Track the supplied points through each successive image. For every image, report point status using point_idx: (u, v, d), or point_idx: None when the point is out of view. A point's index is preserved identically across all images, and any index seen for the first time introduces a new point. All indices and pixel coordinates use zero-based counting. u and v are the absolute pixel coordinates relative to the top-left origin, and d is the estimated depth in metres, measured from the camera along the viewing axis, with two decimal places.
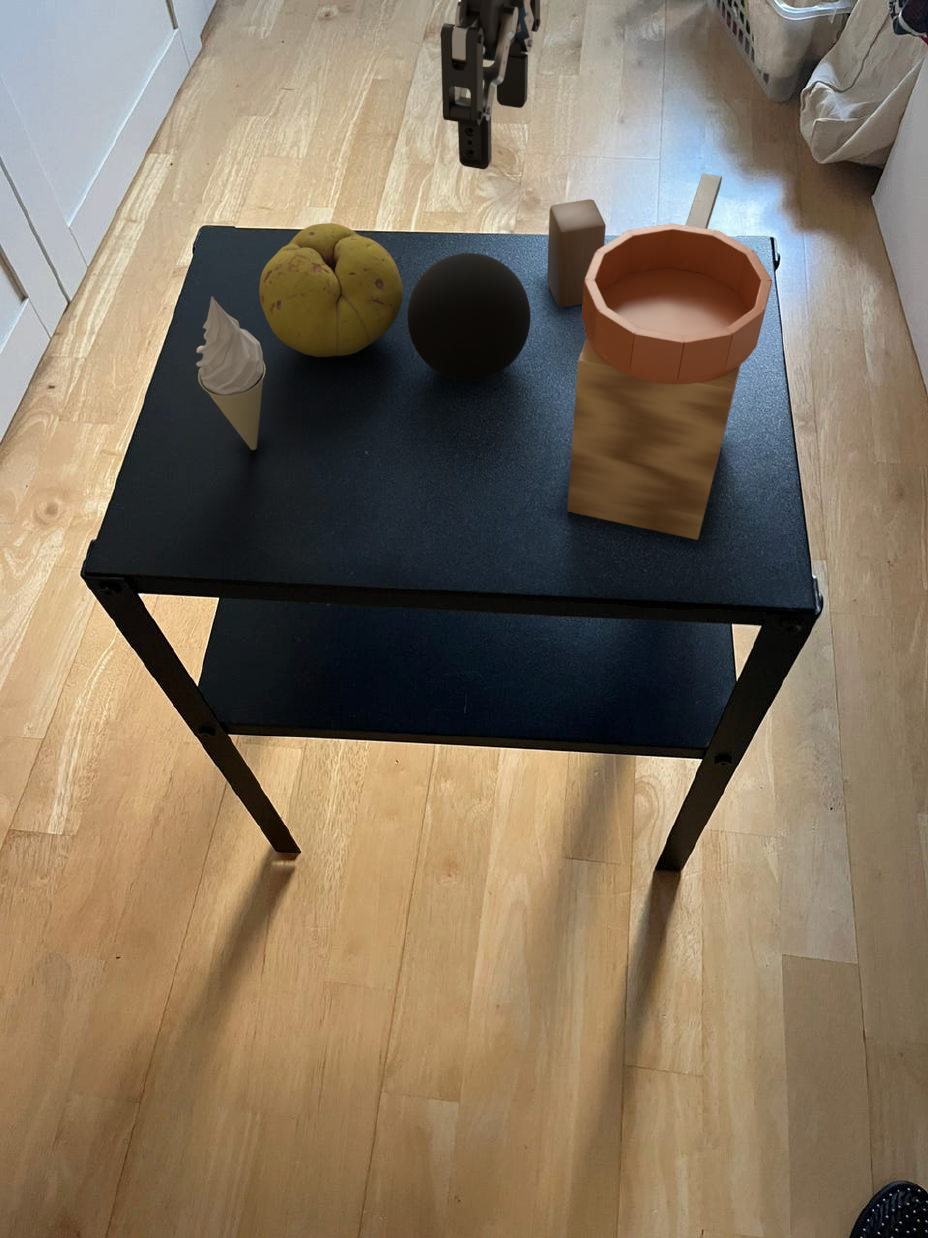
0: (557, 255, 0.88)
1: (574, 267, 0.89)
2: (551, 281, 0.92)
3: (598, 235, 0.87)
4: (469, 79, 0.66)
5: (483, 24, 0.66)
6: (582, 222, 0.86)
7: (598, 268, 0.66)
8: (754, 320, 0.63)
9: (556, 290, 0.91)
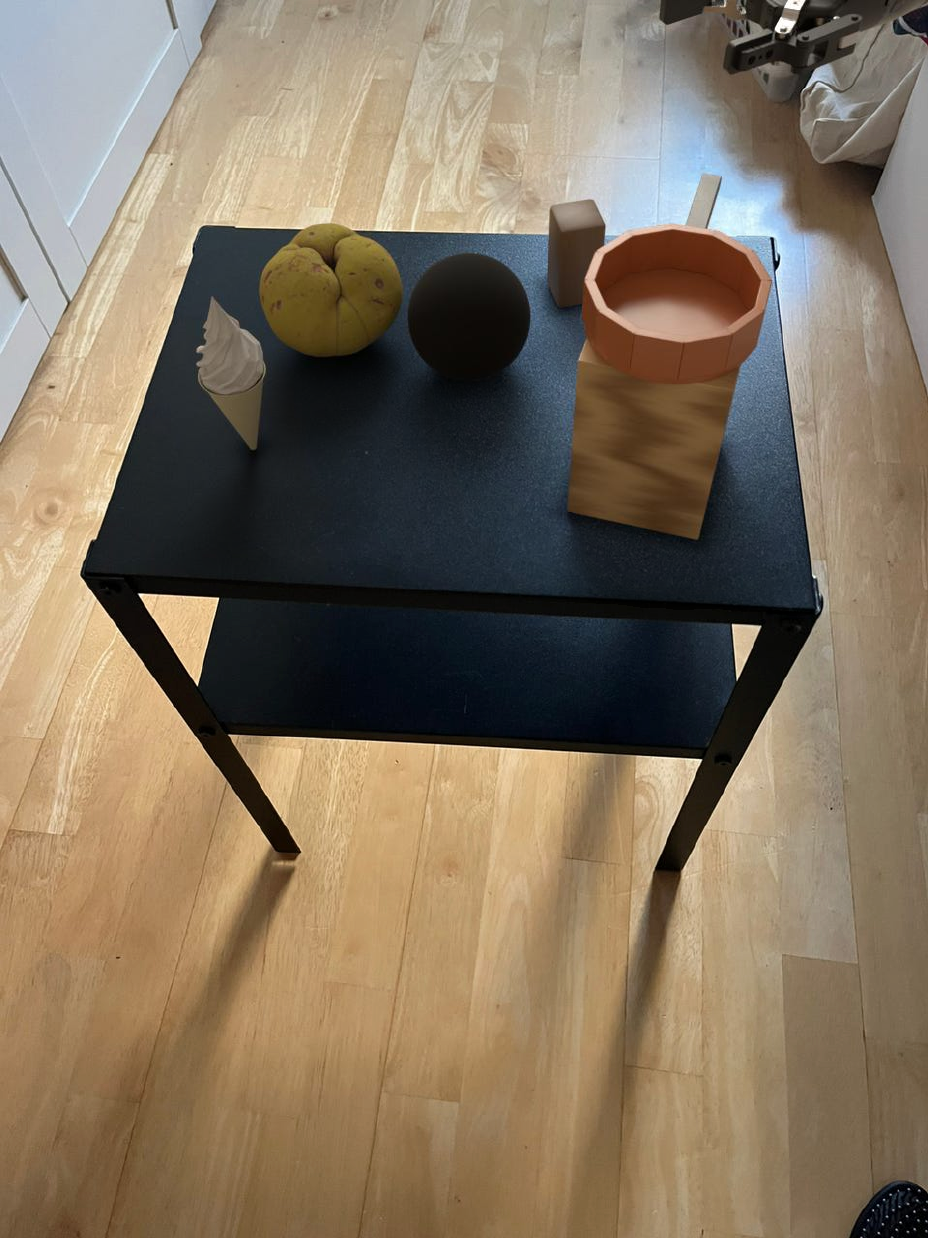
0: (557, 255, 0.88)
1: (574, 267, 0.89)
2: (551, 281, 0.92)
3: (598, 235, 0.87)
4: None
5: None
6: (582, 222, 0.86)
7: (598, 268, 0.66)
8: (754, 320, 0.63)
9: (556, 290, 0.91)
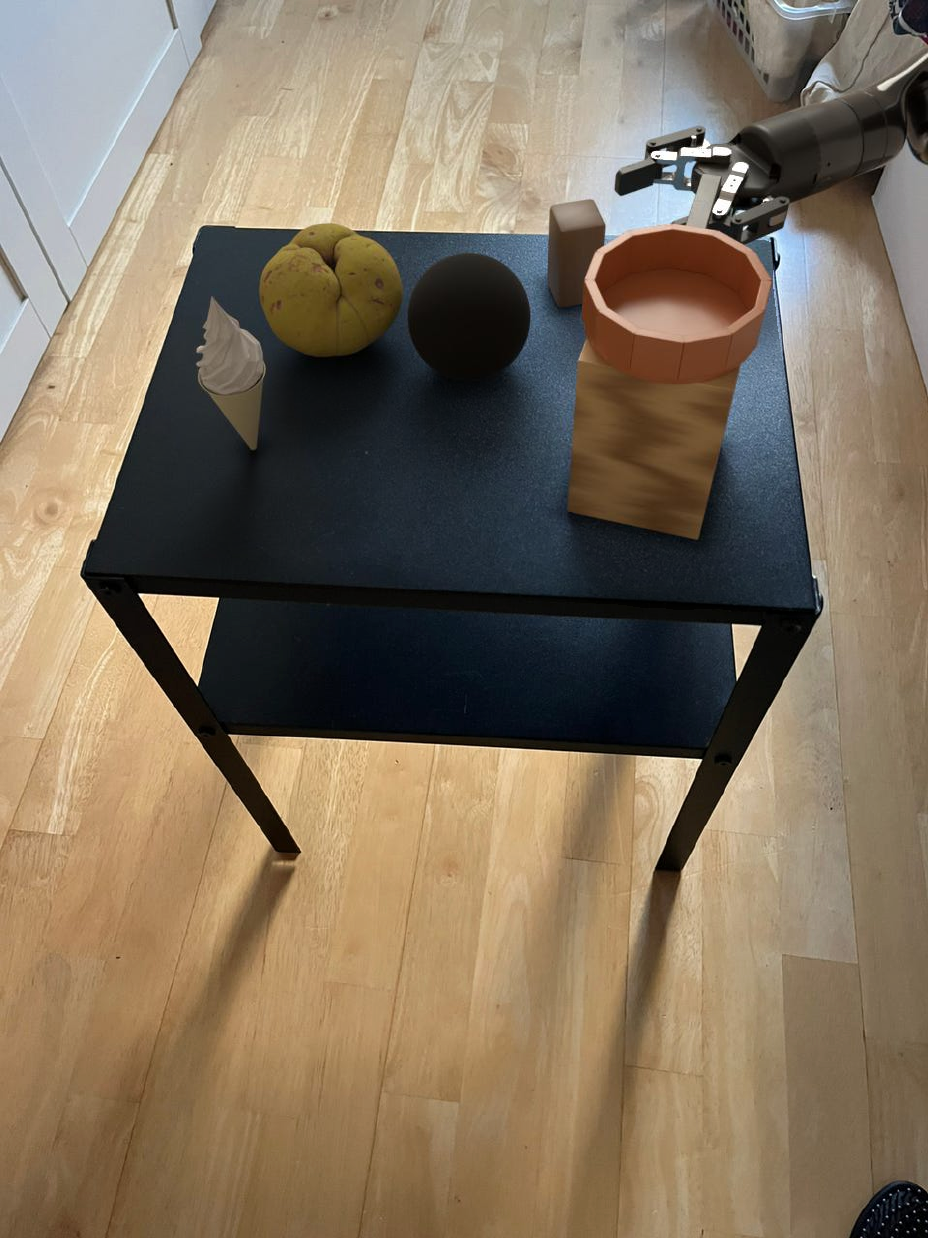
0: (557, 255, 0.88)
1: (574, 267, 0.89)
2: (551, 281, 0.92)
3: (598, 235, 0.87)
4: None
5: None
6: (582, 221, 0.86)
7: (598, 268, 0.66)
8: (754, 320, 0.63)
9: (556, 290, 0.91)
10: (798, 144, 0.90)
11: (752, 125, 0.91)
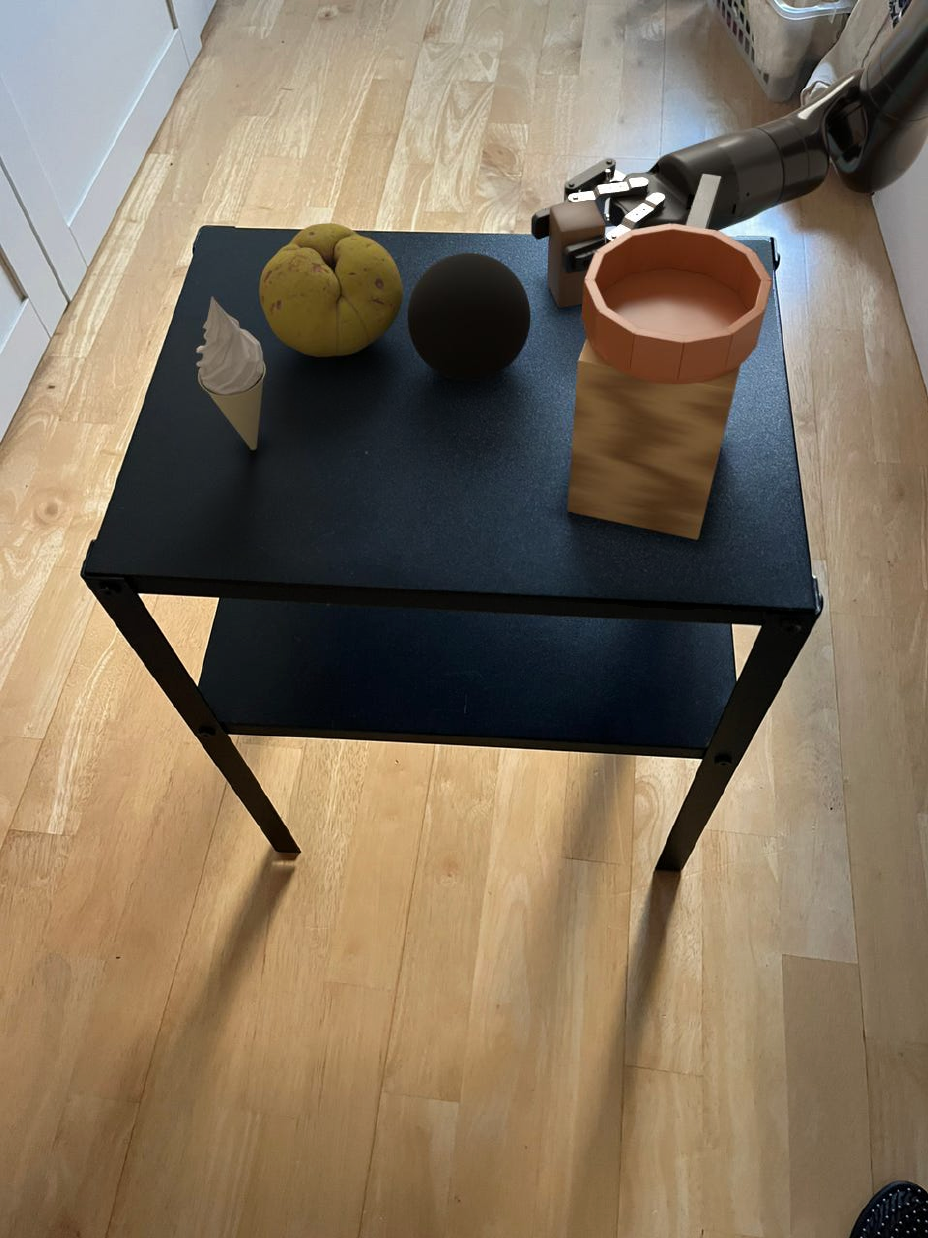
0: (557, 255, 0.88)
1: None
2: (551, 281, 0.92)
3: None
4: None
5: None
6: (582, 222, 0.86)
7: (598, 268, 0.66)
8: (754, 320, 0.63)
9: (556, 290, 0.91)
10: (715, 174, 0.88)
11: (669, 155, 0.89)
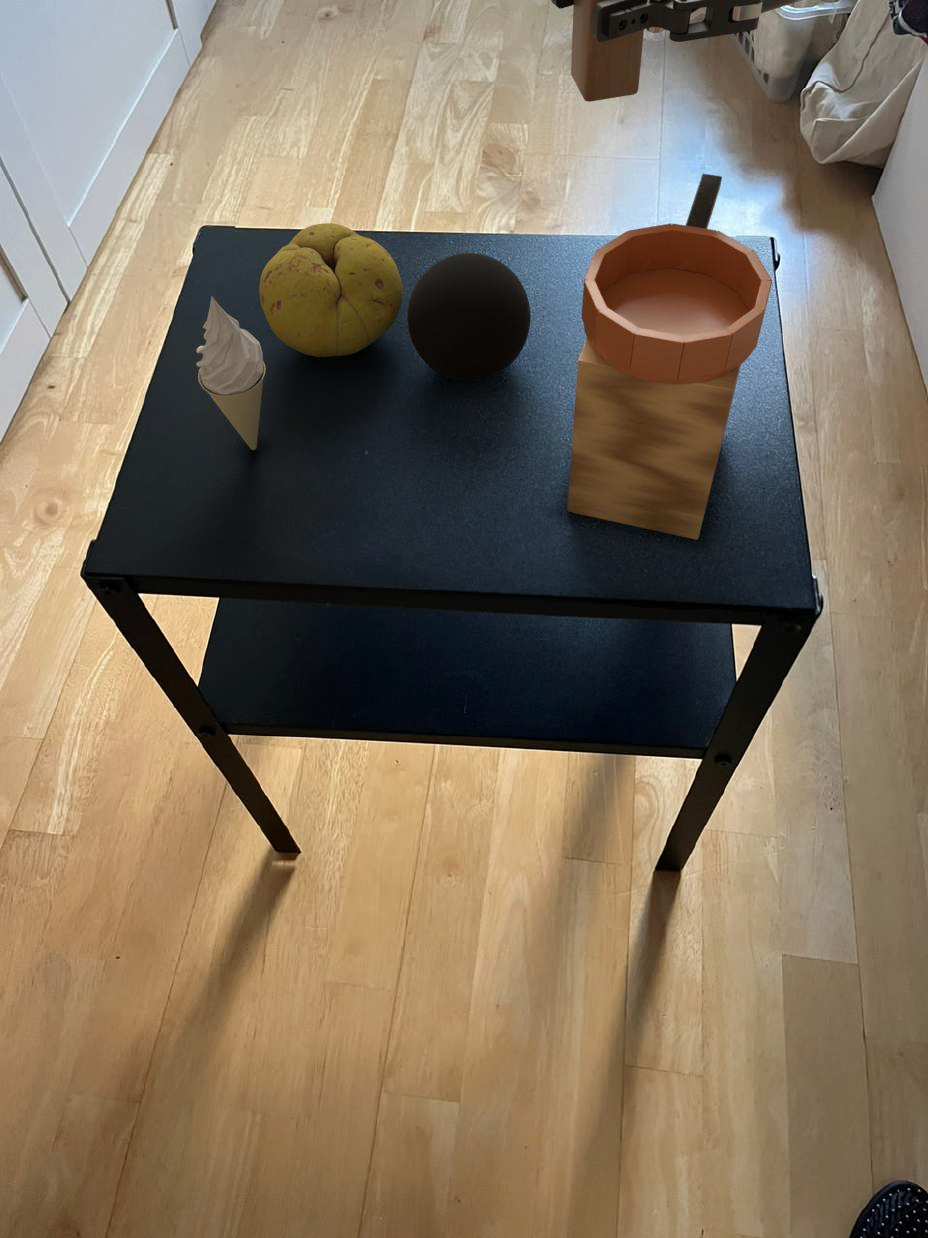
0: (585, 22, 0.68)
1: None
2: (577, 68, 0.72)
3: None
4: None
5: None
6: None
7: (598, 268, 0.66)
8: (754, 320, 0.63)
9: (583, 76, 0.71)
10: None
11: None
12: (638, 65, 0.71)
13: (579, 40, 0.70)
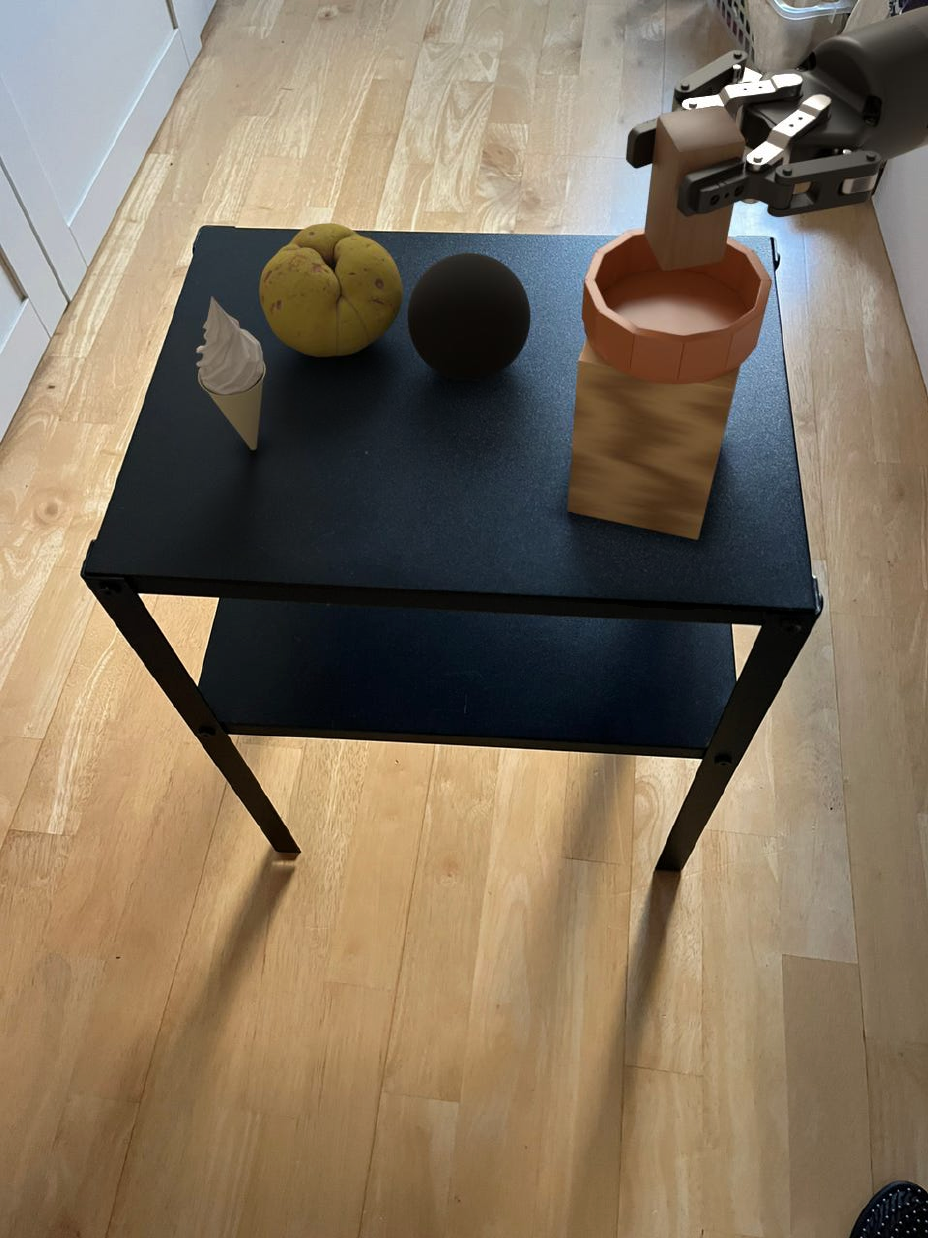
0: (668, 190, 0.59)
1: None
2: (653, 232, 0.63)
3: (733, 157, 0.57)
4: None
5: None
6: (710, 136, 0.57)
7: (598, 268, 0.66)
8: (754, 320, 0.63)
9: (662, 245, 0.61)
10: (908, 65, 0.58)
11: (835, 38, 0.59)
12: (726, 233, 0.61)
13: (658, 205, 0.61)
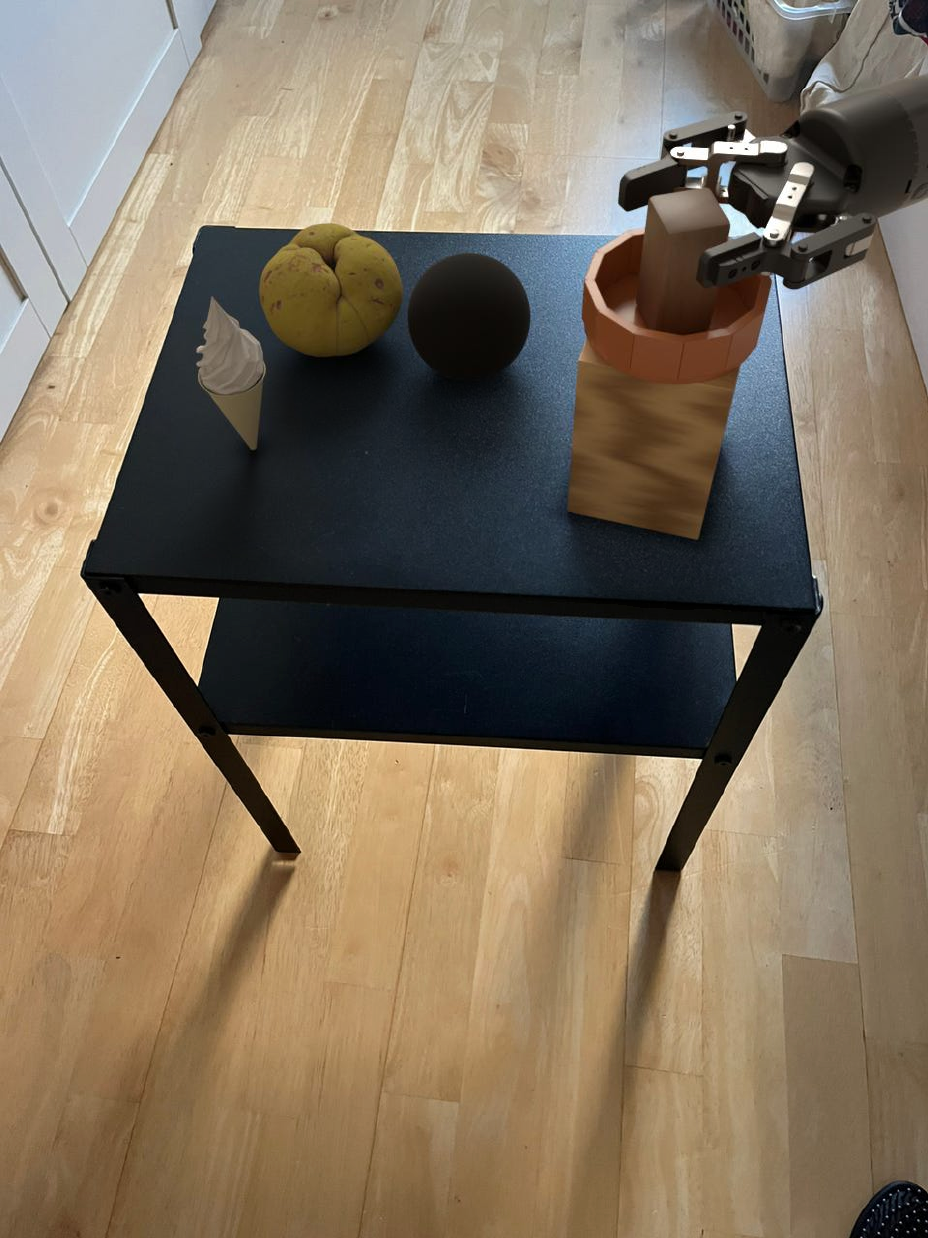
0: (658, 266, 0.63)
1: (681, 283, 0.63)
2: (644, 302, 0.67)
3: (719, 238, 0.61)
4: None
5: None
6: (698, 219, 0.61)
7: (598, 268, 0.66)
8: (754, 320, 0.63)
9: (653, 314, 0.66)
10: (887, 136, 0.61)
11: (818, 109, 0.62)
12: (713, 304, 0.65)
13: (649, 278, 0.65)
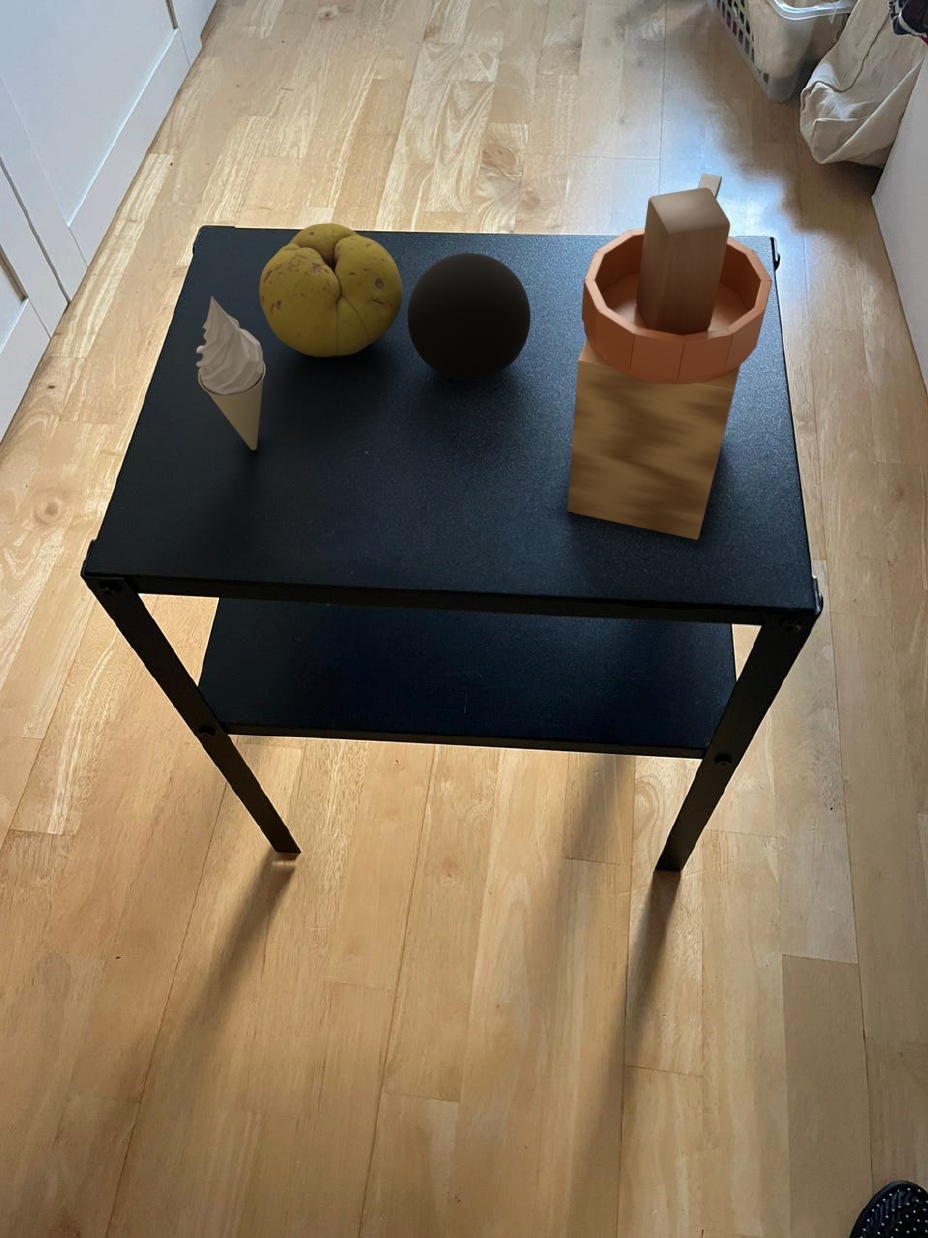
0: (658, 266, 0.63)
1: (681, 283, 0.63)
2: (644, 302, 0.67)
3: (719, 238, 0.61)
4: None
5: None
6: (698, 219, 0.61)
7: (598, 268, 0.66)
8: (754, 320, 0.63)
9: (653, 315, 0.66)
10: None
11: None
12: (713, 304, 0.65)
13: (649, 278, 0.65)
